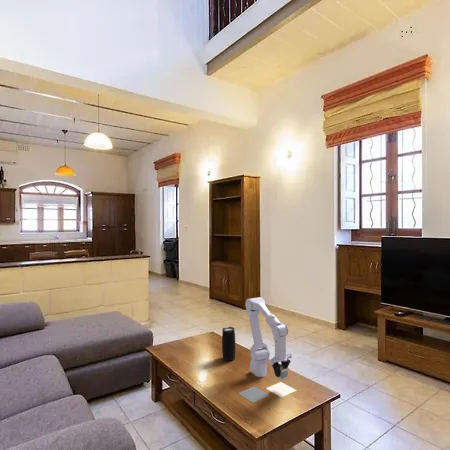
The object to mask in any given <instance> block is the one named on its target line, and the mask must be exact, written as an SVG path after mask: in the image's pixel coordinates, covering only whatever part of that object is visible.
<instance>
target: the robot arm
mask: <svg viewBox="0 0 450 450" xmlns="http://www.w3.org/2000/svg"><path fill="white" fill-rule="evenodd" d="M244 304H245V310H246V314H248V318H249V324H250V328H251V329H250V330H251V335H252V341H253V344H252V346H251V347H250V354H249V355H250V358H251V360H250V362H249V370H250V371H249V372H250V373H252V374H253V375H254V376H255V377H258V378H264V377H266V376H267V375H268V374H267V373H268V371H267V370H268V368H267V366H268V365H270V366H271V367H272V368H273V370H274V371H273V373H274V372H275V376H276V377H275V376H274V377H275V378H277V377H279V376H280V367H281V365H284V366H286V367H288V368H289V366H290V364H291V359H292V358H293V356H292V355H293V354H292V353H289V352H287V336H288V334H289V328H288V326H287V324H285V323H282V322H280V320H279V319H278V318H277V316H276V315H275V314H272V313H271V311H269V309H268V307H267V305H266V301H265V299H264V298H263V297H262V296H259V297H252V298H246V300H245V303H244ZM259 312H260V313H261V315H262V316H263V317H265V319H266V320H265V322H266V324H267V325H268V326H269V328H270V329H271V333H272V336H273V340H274V356H273V357H272V358H271V359H270V356H271V355H270V354H271V353H270V352H271V351H270V349H269V348H268V345H267V344H266V343H265V342H263V341H264V340H263V336H262V331H261V326H260V325H261V324H260V321H259ZM279 362H280V363H279ZM267 364H268V365H267ZM280 364H281V365H280Z"/></svg>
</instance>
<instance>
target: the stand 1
mask: <svg viewBox="0 0 450 450" xmlns="http://www.w3.org/2000/svg"><path fill="white" fill-rule="evenodd" d="M238 394H239V395H241V396H242V397H243V398H245V399H246V400H248V401H250V402H251V403H256V402H258V401H260V400H262V399H265V398H266V397H269V396H270V394H268V393H267V392H265V391H263V390H262V389H260V388H258V387H257V386H252V387H249V388H248V389H245V390H243V391H240V392H238Z"/></svg>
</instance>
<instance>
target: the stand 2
mask: <svg viewBox="0 0 450 450" xmlns="http://www.w3.org/2000/svg"><path fill="white" fill-rule="evenodd" d="M265 389H266V390H267V391H269V392H270V393H273V395H276V396H277V397H279V398H283V397H286V396H288V395H290V394H292V393H294V392H296V391H297V389H295V388H293V387H291V386H289V385H287V384H285V383H284V382H281V381H279V382H277V383H274V384H273V385H270V386H268V387H266V388H265Z"/></svg>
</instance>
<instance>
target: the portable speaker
mask: <svg viewBox="0 0 450 450" xmlns="http://www.w3.org/2000/svg"><path fill="white" fill-rule="evenodd" d="M221 347H222V349H221V351H222V358H223V359H222V360H223V361H225V362H227V361H235V360H236V348H237V346H236V333H235V328H234V327H232V326H228V327H223V328H222V334H221Z"/></svg>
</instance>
